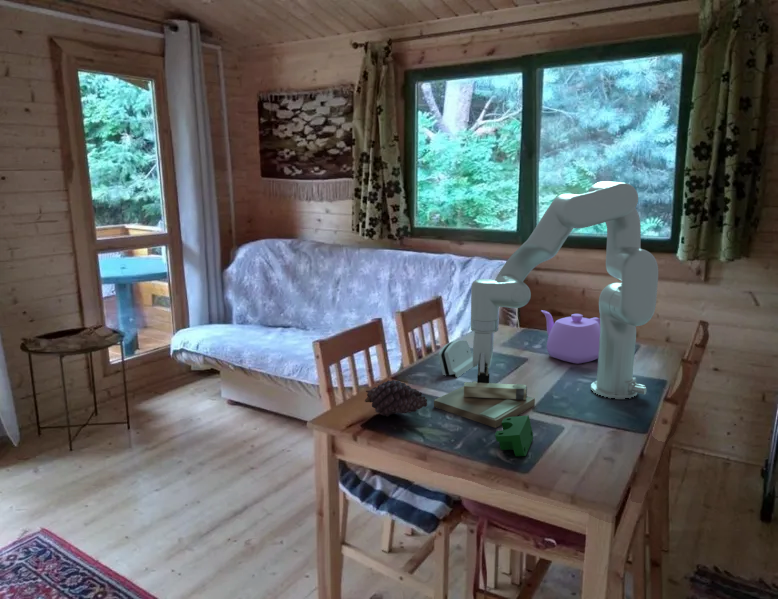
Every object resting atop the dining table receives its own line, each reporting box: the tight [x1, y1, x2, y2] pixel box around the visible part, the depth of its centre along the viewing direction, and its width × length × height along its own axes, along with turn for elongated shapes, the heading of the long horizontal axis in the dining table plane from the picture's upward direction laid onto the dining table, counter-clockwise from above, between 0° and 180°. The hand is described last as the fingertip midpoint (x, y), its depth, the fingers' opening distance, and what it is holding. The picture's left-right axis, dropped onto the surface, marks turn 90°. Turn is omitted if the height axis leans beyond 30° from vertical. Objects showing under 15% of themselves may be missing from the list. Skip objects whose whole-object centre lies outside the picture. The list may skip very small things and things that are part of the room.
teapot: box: [540, 309, 600, 365], centre depth 201 cm, size 23×21×15 cm
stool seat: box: [433, 380, 536, 429], centre depth 161 cm, size 20×19×2 cm
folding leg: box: [463, 381, 528, 400], centre depth 161 cm, size 17×4×3 cm, turn 80°
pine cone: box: [364, 379, 428, 418], centre depth 154 cm, size 18×10×10 cm, turn 68°
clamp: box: [494, 414, 534, 457], centre depth 137 cm, size 12×6×9 cm, turn 151°
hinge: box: [438, 339, 474, 379], centre depth 190 cm, size 17×5×10 cm, turn 148°
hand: (483, 387), depth 165 cm, fingers closed
